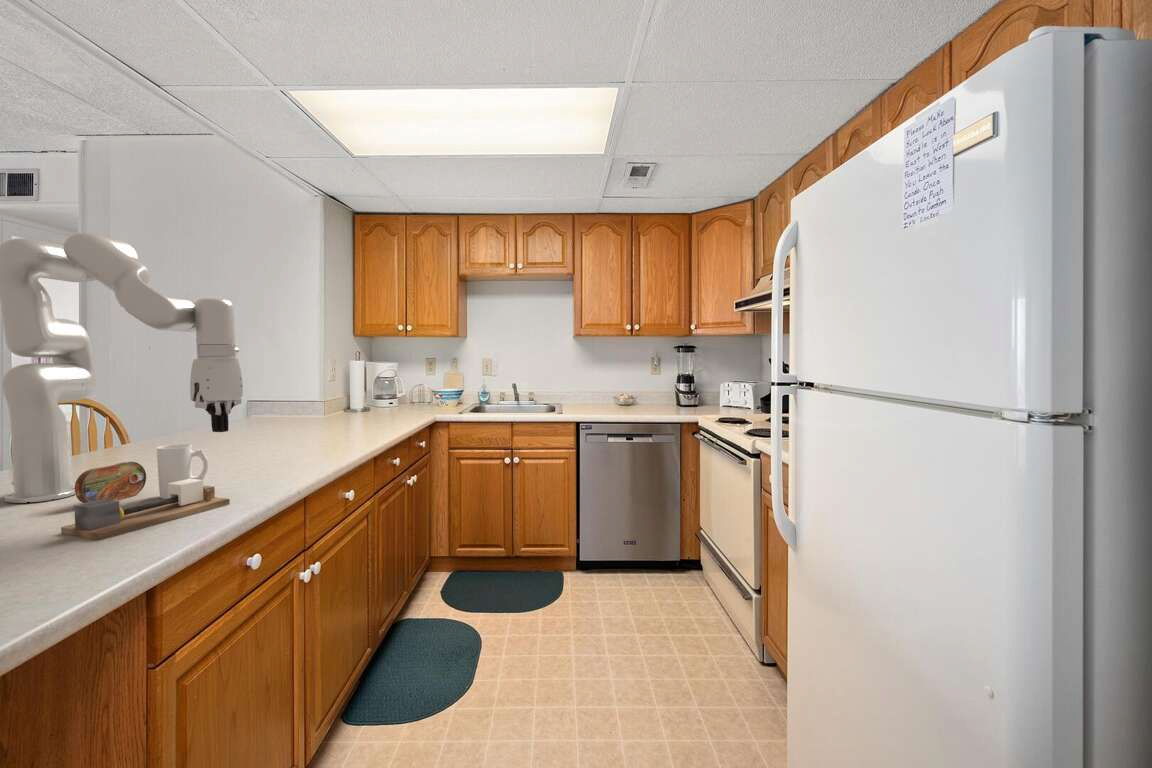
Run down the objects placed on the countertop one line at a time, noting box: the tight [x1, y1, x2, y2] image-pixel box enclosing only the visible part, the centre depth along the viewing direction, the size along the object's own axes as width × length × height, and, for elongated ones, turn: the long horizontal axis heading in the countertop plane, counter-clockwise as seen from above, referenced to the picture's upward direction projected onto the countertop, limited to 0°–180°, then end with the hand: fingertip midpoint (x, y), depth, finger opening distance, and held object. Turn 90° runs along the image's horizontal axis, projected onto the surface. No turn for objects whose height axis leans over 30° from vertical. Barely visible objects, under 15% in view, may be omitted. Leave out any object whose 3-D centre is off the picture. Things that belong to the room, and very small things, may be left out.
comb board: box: [60, 485, 231, 541], centre depth 116 cm, size 11×26×6 cm, turn 161°
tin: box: [74, 461, 147, 504], centre depth 129 cm, size 15×3×8 cm, turn 170°
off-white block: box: [168, 479, 204, 506], centre depth 122 cm, size 4×5×4 cm
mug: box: [156, 443, 209, 500], centre depth 134 cm, size 10×7×12 cm, turn 118°
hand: (220, 431), depth 129 cm, fingers closed
